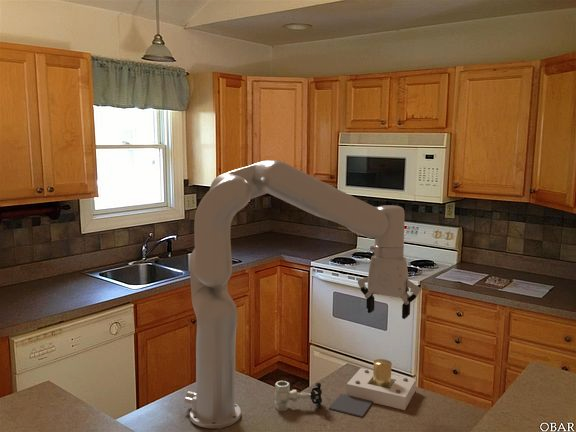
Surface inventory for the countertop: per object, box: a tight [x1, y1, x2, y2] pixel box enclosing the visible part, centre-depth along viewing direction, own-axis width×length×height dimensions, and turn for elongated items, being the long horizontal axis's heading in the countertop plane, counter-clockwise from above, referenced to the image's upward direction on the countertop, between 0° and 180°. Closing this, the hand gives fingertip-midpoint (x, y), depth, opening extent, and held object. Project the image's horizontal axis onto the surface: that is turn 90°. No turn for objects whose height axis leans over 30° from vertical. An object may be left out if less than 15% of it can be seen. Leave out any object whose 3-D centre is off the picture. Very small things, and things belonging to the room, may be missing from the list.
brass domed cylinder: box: [372, 358, 392, 389], centre depth 142 cm, size 5×5×9 cm
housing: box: [345, 367, 417, 411], centre depth 142 cm, size 16×12×4 cm
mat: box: [328, 393, 374, 418], centre depth 135 cm, size 9×9×1 cm
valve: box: [273, 380, 323, 412], centre depth 134 cm, size 7×7×12 cm
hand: (387, 314), depth 139 cm, fingers open, 9 cm apart
